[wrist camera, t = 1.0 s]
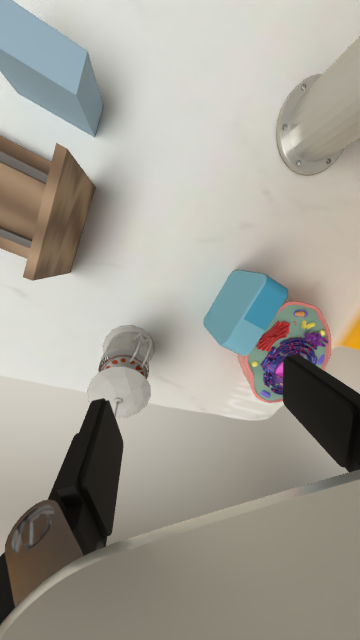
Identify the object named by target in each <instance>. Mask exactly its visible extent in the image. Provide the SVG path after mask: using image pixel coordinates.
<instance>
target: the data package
mask: <svg viewBox="0 0 360 640" xmlns="http://www.w3.org/2000/svg"><path fill="white" fill-rule="evenodd" d="M287 296H288V290H287V288H285V287H284V286H282V285H281V284H279V283H278V282H276V281H275V280H273V279H271V278H270V277H268V276H267V275H265V274H262V273H255V272H248V271H241V270H235V271H233V272H232V273H231V274H230V276H229V277H228V279H227V281H226V282H225V284H224V286H223V288H222V289H221V291H220V293H219V294H218V296H217V298H216V300H215V301H214V303H213V305H212V306H211V308H210V310H209V312H208V313H207V315H206V317H205V319H204V326H205V328H206V329H207V330H208V331H209V332H210V334H211V335H212V336H213V337H214V338H215V340H216V341H217V342H218V343H219V344H220V345H221V346H223V347H225V348H227V349H229V350H231V351H233V352H235V353H237V354H240V355H242V356H246V355H248V354H250V353H251V351H252V350H253V349H254V347H255V345H256V344H257V342H258V341H259V339H260V338H261V336H262V335H263V333H264V332H265V330H266V329H267V327H268V326H269V324H270V323H271V321H272V320H273V318H274V317H275V315H276V314H277V312H278V311H279V309H280V308H281V306H282V305H283V303H284V302H285V300H286V298H287Z"/></svg>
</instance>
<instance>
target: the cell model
mask: <svg viewBox="0 0 360 640" xmlns="http://www.w3.org/2000/svg"><path fill="white" fill-rule="evenodd" d="M294 354H299V355H301V356H302V357H304V358H305V359H307V360H308V361H310V362H312V363H313V364H315V365H316V366H318V367H319V368H321V369H322V370H325V367H326V365H327V363H328V361H329V359H330V356H331V335H330V330H329V328H328V325H327V323H326V321H325V319H324V317H323V315H322V314H321V312H320V310H319V309H318V308H317V307H316V306H313V305H309V304H305V303H302V302H286V303H283V305H282V306H281V308H280V309H279V311H278V312H277V314H276V315H275V317H274V318H273V320H272V321H271V323H270V324H269V326H268V327H267V329H266V330H265V332H264V333H263V335H262V336H261V338H260V339H259V341H258V342H257V344H256V345H255V347H254V349H253V350H252V351H251V353H250V354H248V355H246V356H242V355H240V354H238V360H239V363H240V366H241V368H242V370H243V373H244V375H245V377H246V379H247V381H248V382H249V385H250V387H251V389H252V391H253V393H254V395H255V396H256V397H257V398H258V399H260V400H262V401H264V402H267V403H274V402H280V401H283V361H284V360H285V358H286V357H287V356H290V355H294Z"/></svg>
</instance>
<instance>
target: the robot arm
mask: <svg viewBox="0 0 360 640" xmlns="http://www.w3.org/2000/svg"><path fill="white" fill-rule="evenodd" d="M358 139H360V37H359V38H358V39H357V40H356V41H355V42H354V43H353V44H352V45H351V46H349V47H348V48H347V50H346V51H345V52H344V53H343V54H342V55H341V56H340V57H339V58H338V59H337V60H336V62H335V63H334V64H333V65H332V66H331V67H330V68H329V69H328V70H327V71H326V72H325V73H324V74H317V75H313V76H310V77H308V78H306V79H305V80H303V81H302V82H301V83H300V84H298V85H297V86H296V87H295V89H294V90H293V91H292V92H291V93H290V94H289V96H288V98H287V99H286V101H285V102H284V104H283V107H282V109H281V112H280V115H279V118H278V124H277V143H278V148H279V151H280V155H281V156H282V158H283V160H284V162H285V163H286V164H287V166H288V167H289V168H290V169H292V170H293V171H294V172H297V173H299V174H303V175H312V174H315V173H318V172H320V171H322V170H324V169H326V168H328V167H329V166H330V165H332V164H333V163H334V162H335V161H336V160H337V158H338V157H339V156H340V154H341V153H342V151H343V149H344V147H346V146H347V145H349V144H351V143H353V142H355V141H356V140H358ZM283 403H284V405H285V406H286V407H287V408H288V410H289V411H290V412H291V413H292V414H293V415H294V416H295V417H296V418H297V419H298V421H299V422H300V423H301V424H302V425H303V426H304V427H305V428H306V429H307V430H308V432H309V433H310V434H311V435H312V436H313V437H314V438H315V439H316V440H317V441H318V443H319V444H320V445H321V446H322V447H323V448H324V449H325V450H326V451H327V452H328V454H329V455H330V456H331V457H332V458H333V459H334V460H335V461H336V462H337V463H338V464H339V465H340V466H341V467H345V468H346V469H347V471H348V472H349V473H346V474H342V475H339V476H335V477H332V478H329V479H325V480H321V481H318V482H315V483H311V484H307V485H304V486H301V487H297V488H294V489H290V490H287V491H284V492H280V493H277V494H274V495H270V496H267V497H263V498H260V499H256V500H253V501H249V502H246V503H243V504H239V505H236V506H233V507H229V508H226V509H222V510H220V511H216V512H213V513H209V514H206V515H203V516H199V517H196V518H193V519H189V520H186V521H183V522H180V523H176V524H173V525H169V526H166V527H163V528H160V529H157V530H154V531H151V532H147V533H144V534H141V535H138V536H135V537H132V538H129V539H126V540H123V541H119V542H117V543H114V544H111V545H109V546H106V541H107V536H109V535H111V533H112V528H113V521H114V513H115V506H116V498H117V490H118V483H119V475H120V468H121V460H122V453H123V440H122V436H121V433H120V430H119V428H118V425H117V422H116V419H115V416H114V413H113V410H112V407H111V404H110V401H109V400H107V401H106V400H105V398H102V399H97V400H93V401H92V402H91V404H90V406H89V409H88V411H87V414H86V416H85V419H84V421H83V424H82V427H81V429H80V432H79V433H77V434H76V435H75V436H74V438H73V440H72V442H71V445H70V447H69V450H68V452H67V455H66V457H65V459H64V462H63V464H62V467H61V469H60V471H59V474H58V476H57V479H56V481H55V483H54V486H53V488H52V491H51V493H50V496H49V498H48V500H43V501H41V502H39V503H37V504H35V505H34V506H33V507H31V508H30V509H29V510H27V511H26V512H25V513H24V514H23V515H22V516H21V517H20V519H19V520H18V521H17V523H16V524H15V525H14V526H13V528H12V530H11V532H10V533H9V535H8V538H7V541H6V544H5V552H4V553H3V554H2V555H1V556H0V640H360V394H359V393H357V392H356V391H354V390H353V389H351V388H350V387H348V386H347V385H345V384H344V383H342V382H341V381H339V380H337V379H336V378H334V377H333V376H331V375H330V374H328V373H327V372H325V371H324V370H322V369H321V368H319V367H318V366H316V365H315V364H313V363H312V362H310V361H308V360H307V359H305V358H304V357H302V356H301V355H299V354H294V355H290V356H287V357H286V358H285V360H284V361H283Z"/></svg>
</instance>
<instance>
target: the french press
mask: <svg viewBox="0 0 360 640" xmlns="http://www.w3.org/2000/svg"><path fill="white" fill-rule="evenodd" d="M103 352H104V354H103V357H102V359H101V362H100V366H99V373H98V374H97V375H96V376H95V377H94V378H93V379H92V380H91V381H90V384H89V387H88V390H87V394H88V401H89V403H90V404H91V402H92V401H93V400H97V399H102V398H105V400H106V401H107V400H109V401H110V404H111V407H112V410H113V413H114V416H115V419H117V418H127V417H130V416H132V415H135V414H137V413H139V412H140V411H141V410H142V409H143V408H144V407H145V406H146V405H147V403H148V401H149V399H150V396H151V392H150V385H149V383H148V381H147V377H148V373H149V361H150V359H151V357H152V355H153V352H154V346H153V341H152V339H151V337H150V335H149V334H148V333H147V332H145V331H144V330H143V329H142V328H139V327H136V326H133V325H129V326H120V327H118V328H116V329H113V330H112V331H111V332H110V333H109V334H108V335H107V336H106V338H105V341H104V343H103ZM105 357H106V360H105ZM103 358H104V361H103ZM102 363H103V364H102ZM147 364H148V366H147ZM145 365H146V366H147V368H148V370H147V368H146V366H145ZM147 372H148V373H147Z"/></svg>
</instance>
